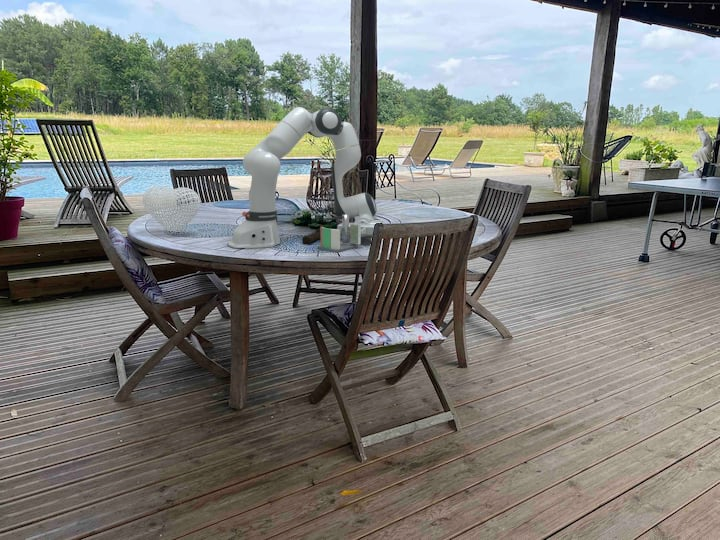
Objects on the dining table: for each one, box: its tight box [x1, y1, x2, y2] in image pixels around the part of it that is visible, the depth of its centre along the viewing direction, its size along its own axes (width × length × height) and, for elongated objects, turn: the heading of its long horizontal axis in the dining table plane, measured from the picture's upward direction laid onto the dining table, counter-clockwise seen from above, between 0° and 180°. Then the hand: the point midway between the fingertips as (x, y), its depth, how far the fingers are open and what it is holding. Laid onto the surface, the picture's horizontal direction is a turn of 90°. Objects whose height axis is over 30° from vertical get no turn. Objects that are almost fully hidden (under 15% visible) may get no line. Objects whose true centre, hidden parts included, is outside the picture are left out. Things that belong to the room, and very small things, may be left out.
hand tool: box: [301, 227, 321, 245], centre depth 226 cm, size 19×4×5 cm, turn 159°
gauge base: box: [316, 226, 358, 254], centre depth 212 cm, size 15×11×9 cm
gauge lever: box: [322, 214, 362, 246], centre depth 208 cm, size 15×9×12 cm, turn 140°
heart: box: [142, 185, 201, 233], centre depth 233 cm, size 28×16×22 cm, turn 65°
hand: (357, 232), depth 212 cm, fingers closed
